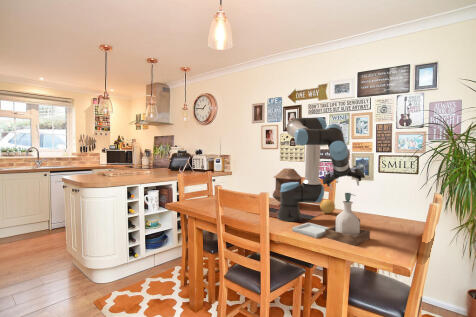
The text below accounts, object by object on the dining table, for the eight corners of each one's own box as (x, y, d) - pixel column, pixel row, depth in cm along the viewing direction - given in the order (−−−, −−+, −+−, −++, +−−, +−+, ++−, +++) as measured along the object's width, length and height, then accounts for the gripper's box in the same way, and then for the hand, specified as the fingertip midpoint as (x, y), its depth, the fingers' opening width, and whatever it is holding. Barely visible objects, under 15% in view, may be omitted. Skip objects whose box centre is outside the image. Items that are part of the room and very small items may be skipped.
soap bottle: (361, 241, 122) (362, 194, 121) (341, 241, 122) (341, 194, 122) (352, 235, 132) (353, 191, 131) (334, 234, 132) (334, 191, 131)
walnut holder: (324, 237, 128) (325, 229, 128) (340, 231, 138) (340, 223, 138) (355, 245, 116) (355, 237, 116) (369, 238, 126) (369, 230, 126)
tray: (292, 230, 138) (292, 227, 138) (308, 225, 147) (308, 222, 147) (316, 238, 126) (316, 234, 126) (332, 232, 136) (332, 228, 136)
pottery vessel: (276, 209, 191) (276, 169, 190) (269, 202, 216) (269, 167, 215) (309, 208, 193) (310, 169, 192) (298, 202, 218) (299, 167, 218)
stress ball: (336, 215, 175) (335, 204, 183) (334, 206, 170) (333, 195, 177) (321, 216, 179) (320, 205, 186) (319, 208, 173) (318, 196, 181)
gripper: (315, 176, 122) (321, 195, 138) (371, 166, 114) (371, 187, 130) (313, 164, 127) (319, 183, 143) (367, 153, 118) (367, 175, 134)
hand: (344, 185), depth 136 cm, fingers open, 13 cm apart
